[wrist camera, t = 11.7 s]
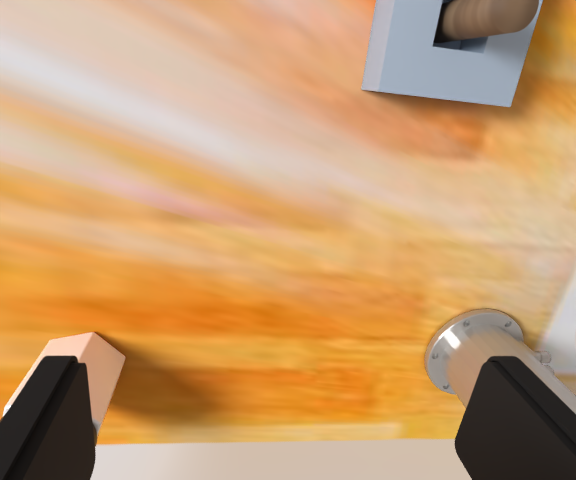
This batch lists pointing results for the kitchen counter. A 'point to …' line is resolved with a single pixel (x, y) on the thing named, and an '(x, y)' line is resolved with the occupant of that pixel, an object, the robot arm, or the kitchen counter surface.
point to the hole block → (440, 57)
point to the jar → (100, 369)
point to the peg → (483, 18)
